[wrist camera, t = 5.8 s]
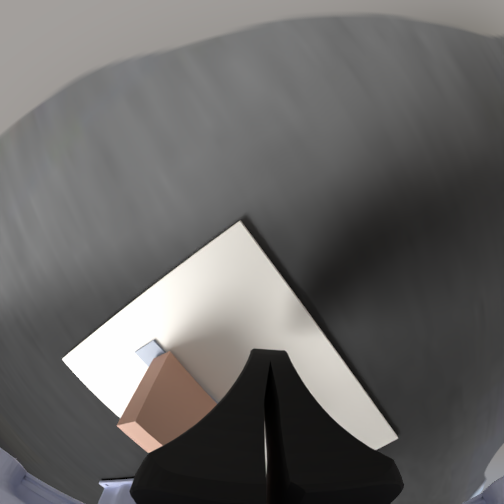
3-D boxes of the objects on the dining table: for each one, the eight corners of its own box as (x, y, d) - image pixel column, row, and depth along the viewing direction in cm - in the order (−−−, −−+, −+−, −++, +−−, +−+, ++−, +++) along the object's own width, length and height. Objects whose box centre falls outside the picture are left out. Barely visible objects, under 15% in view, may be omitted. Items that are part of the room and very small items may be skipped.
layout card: (236, 494, 19) (236, 498, 18) (63, 356, 15) (60, 360, 15) (397, 435, 16) (398, 439, 15) (240, 219, 12) (239, 221, 12)
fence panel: (263, 443, 15) (261, 507, 10) (240, 450, 16) (233, 511, 11) (174, 349, 13) (140, 419, 9) (149, 360, 14) (112, 426, 9)
